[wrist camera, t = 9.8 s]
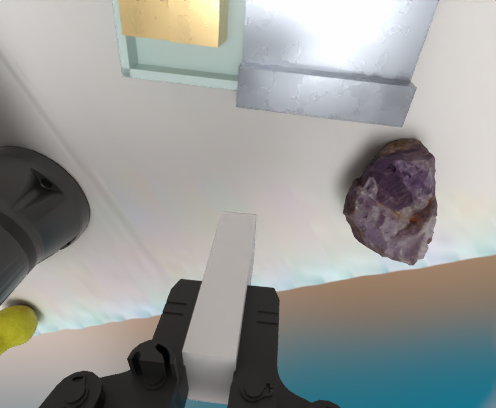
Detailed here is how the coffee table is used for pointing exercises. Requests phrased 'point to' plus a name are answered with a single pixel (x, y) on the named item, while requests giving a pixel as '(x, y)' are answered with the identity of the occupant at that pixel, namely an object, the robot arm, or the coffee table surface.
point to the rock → (395, 202)
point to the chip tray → (185, 55)
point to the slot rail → (333, 57)
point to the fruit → (16, 326)
